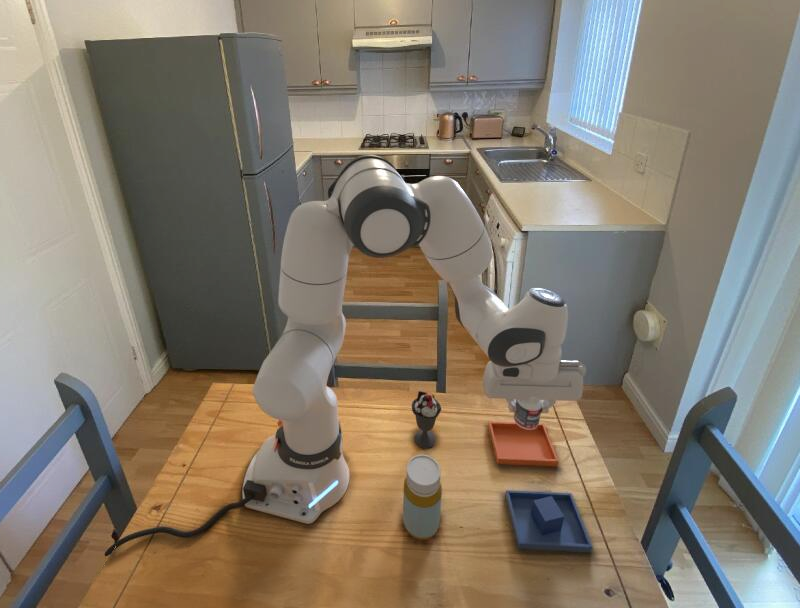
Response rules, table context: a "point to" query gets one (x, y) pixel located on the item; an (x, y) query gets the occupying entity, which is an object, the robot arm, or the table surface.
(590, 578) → the table surface
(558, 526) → the blue block
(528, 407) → the pill bottle
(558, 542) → the blue tray
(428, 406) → the sundae
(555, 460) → the orange tray
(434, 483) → the bottle
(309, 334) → the robot arm
